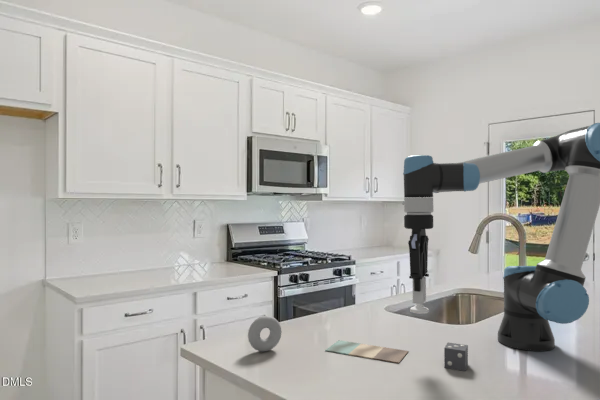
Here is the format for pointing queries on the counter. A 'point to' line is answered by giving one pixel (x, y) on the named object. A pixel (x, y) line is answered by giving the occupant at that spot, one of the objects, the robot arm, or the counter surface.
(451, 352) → the die
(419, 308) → the chess piece
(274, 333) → the donut
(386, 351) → the track
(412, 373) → the counter surface
